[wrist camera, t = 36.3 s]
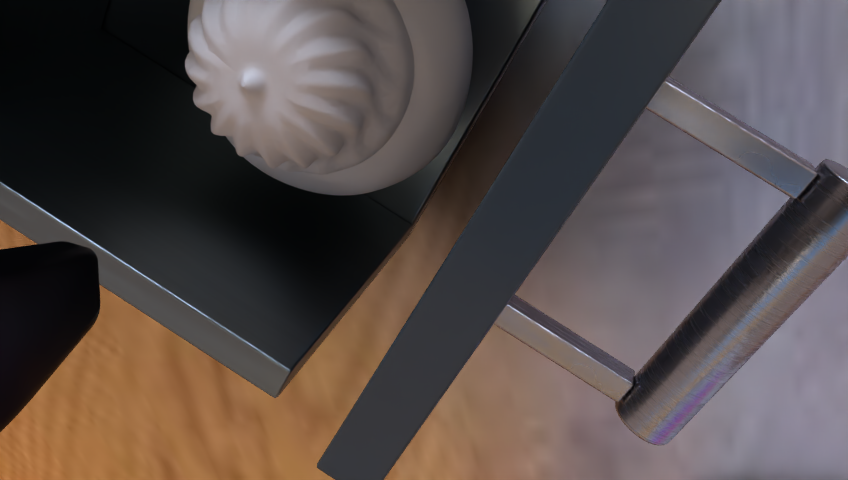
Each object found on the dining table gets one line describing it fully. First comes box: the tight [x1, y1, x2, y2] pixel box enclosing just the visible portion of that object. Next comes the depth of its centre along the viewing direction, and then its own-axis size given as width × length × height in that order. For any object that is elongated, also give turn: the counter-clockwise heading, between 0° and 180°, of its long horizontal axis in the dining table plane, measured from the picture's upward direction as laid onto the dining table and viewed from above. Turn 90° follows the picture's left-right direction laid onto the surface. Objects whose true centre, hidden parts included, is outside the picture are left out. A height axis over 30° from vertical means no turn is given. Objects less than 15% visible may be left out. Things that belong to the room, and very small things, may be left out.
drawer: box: [0, 0, 848, 480], centre depth 16 cm, size 18×11×9 cm, turn 62°
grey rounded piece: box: [185, 0, 473, 196], centre depth 16 cm, size 6×6×7 cm
